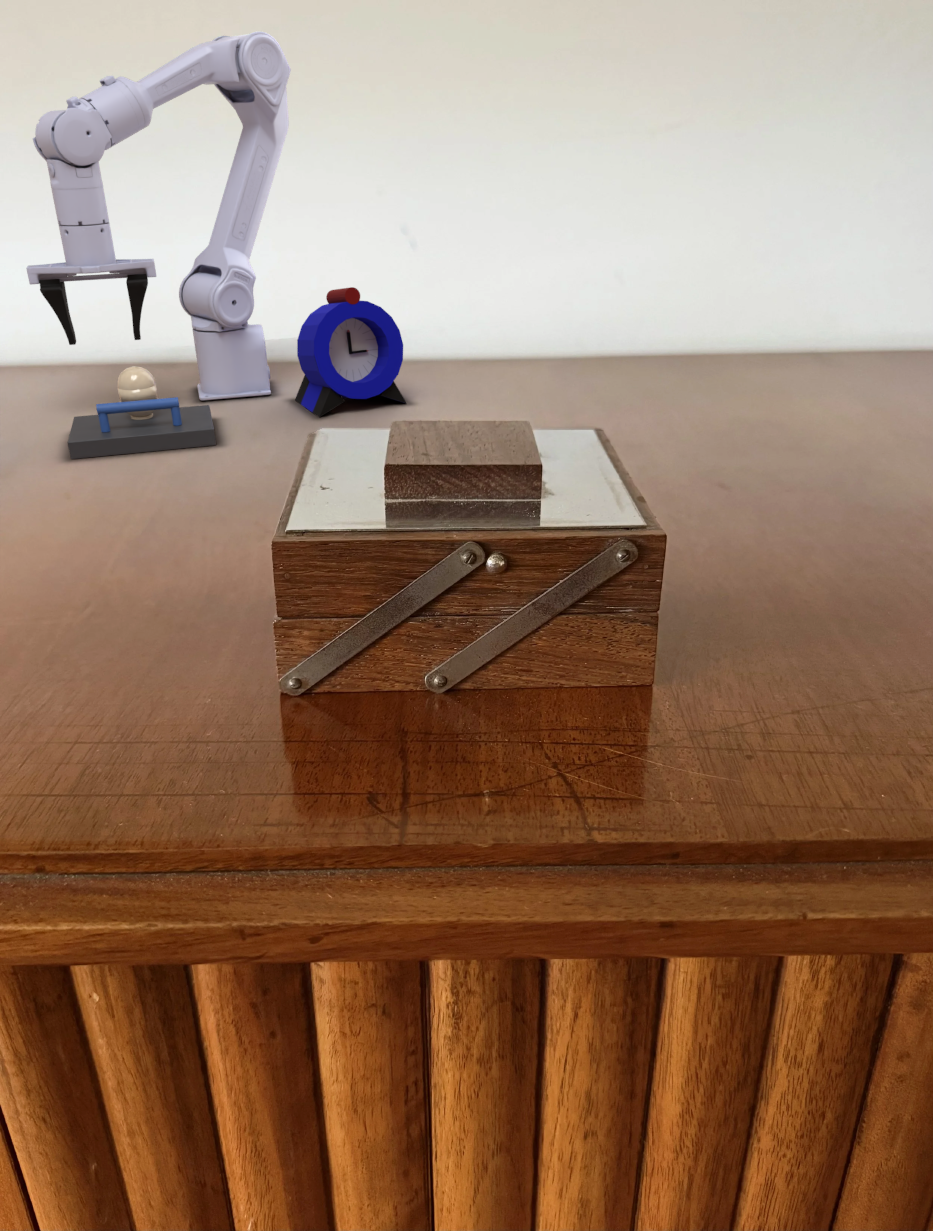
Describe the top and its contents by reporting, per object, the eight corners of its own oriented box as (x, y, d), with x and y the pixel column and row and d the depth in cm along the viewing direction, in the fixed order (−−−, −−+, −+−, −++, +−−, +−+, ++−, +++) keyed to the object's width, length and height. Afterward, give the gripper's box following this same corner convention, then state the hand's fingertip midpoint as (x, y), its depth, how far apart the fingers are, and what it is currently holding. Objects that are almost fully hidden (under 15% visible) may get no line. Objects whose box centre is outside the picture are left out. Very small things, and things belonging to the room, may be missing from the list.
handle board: (211, 420, 124) (205, 378, 122) (216, 445, 114) (210, 400, 112) (77, 432, 120) (68, 390, 118) (70, 459, 111) (61, 413, 108)
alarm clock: (321, 418, 124) (310, 294, 117) (289, 396, 133) (278, 280, 127) (409, 405, 129) (404, 285, 122) (373, 384, 138) (366, 272, 132)
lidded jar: (150, 409, 121) (142, 360, 119) (167, 416, 118) (159, 366, 116) (116, 416, 119) (107, 366, 116) (133, 424, 116) (124, 373, 113)
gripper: (14, 229, 111) (40, 351, 117) (148, 223, 115) (166, 342, 121) (21, 224, 117) (45, 340, 123) (147, 218, 121) (165, 331, 127)
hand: (105, 340), depth 123 cm, fingers open, 7 cm apart
